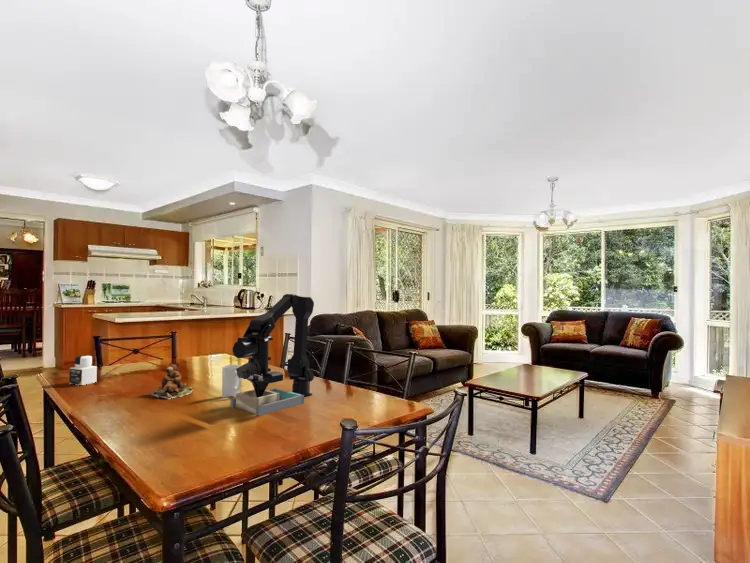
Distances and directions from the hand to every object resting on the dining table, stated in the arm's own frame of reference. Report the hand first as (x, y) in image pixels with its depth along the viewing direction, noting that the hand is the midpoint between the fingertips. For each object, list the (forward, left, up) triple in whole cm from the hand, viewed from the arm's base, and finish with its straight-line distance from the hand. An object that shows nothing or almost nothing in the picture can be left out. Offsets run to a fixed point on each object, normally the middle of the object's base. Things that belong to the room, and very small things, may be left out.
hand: (259, 398), depth 146 cm
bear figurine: (+8, -44, -5) cm, 45 cm away
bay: (-4, 0, -4) cm, 6 cm away
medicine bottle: (+24, -89, -4) cm, 92 cm away
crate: (+1, 0, -3) cm, 3 cm away
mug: (-4, -21, -4) cm, 22 cm away
